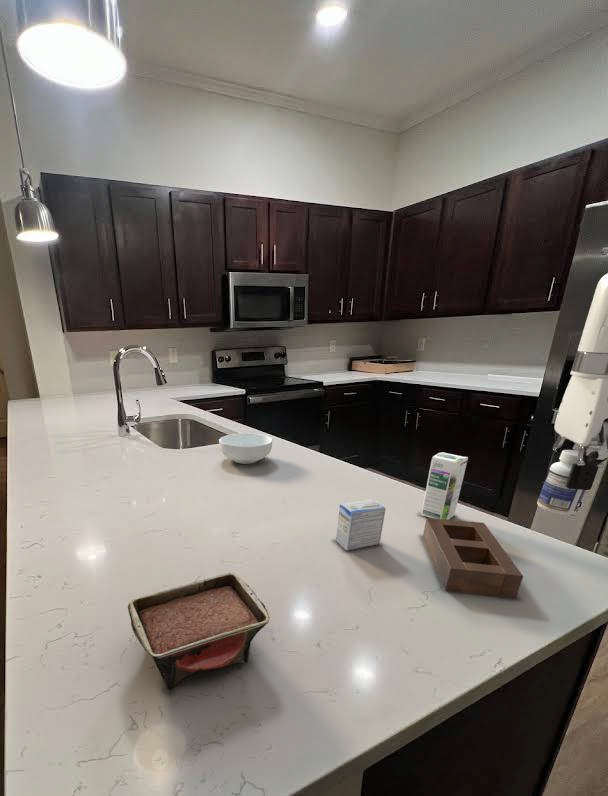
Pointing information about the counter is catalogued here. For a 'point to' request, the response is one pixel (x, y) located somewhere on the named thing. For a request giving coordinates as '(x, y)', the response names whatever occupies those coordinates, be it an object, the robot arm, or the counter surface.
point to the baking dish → (198, 625)
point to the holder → (470, 558)
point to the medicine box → (360, 524)
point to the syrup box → (443, 486)
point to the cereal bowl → (245, 447)
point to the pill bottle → (561, 487)
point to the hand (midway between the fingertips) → (567, 480)
